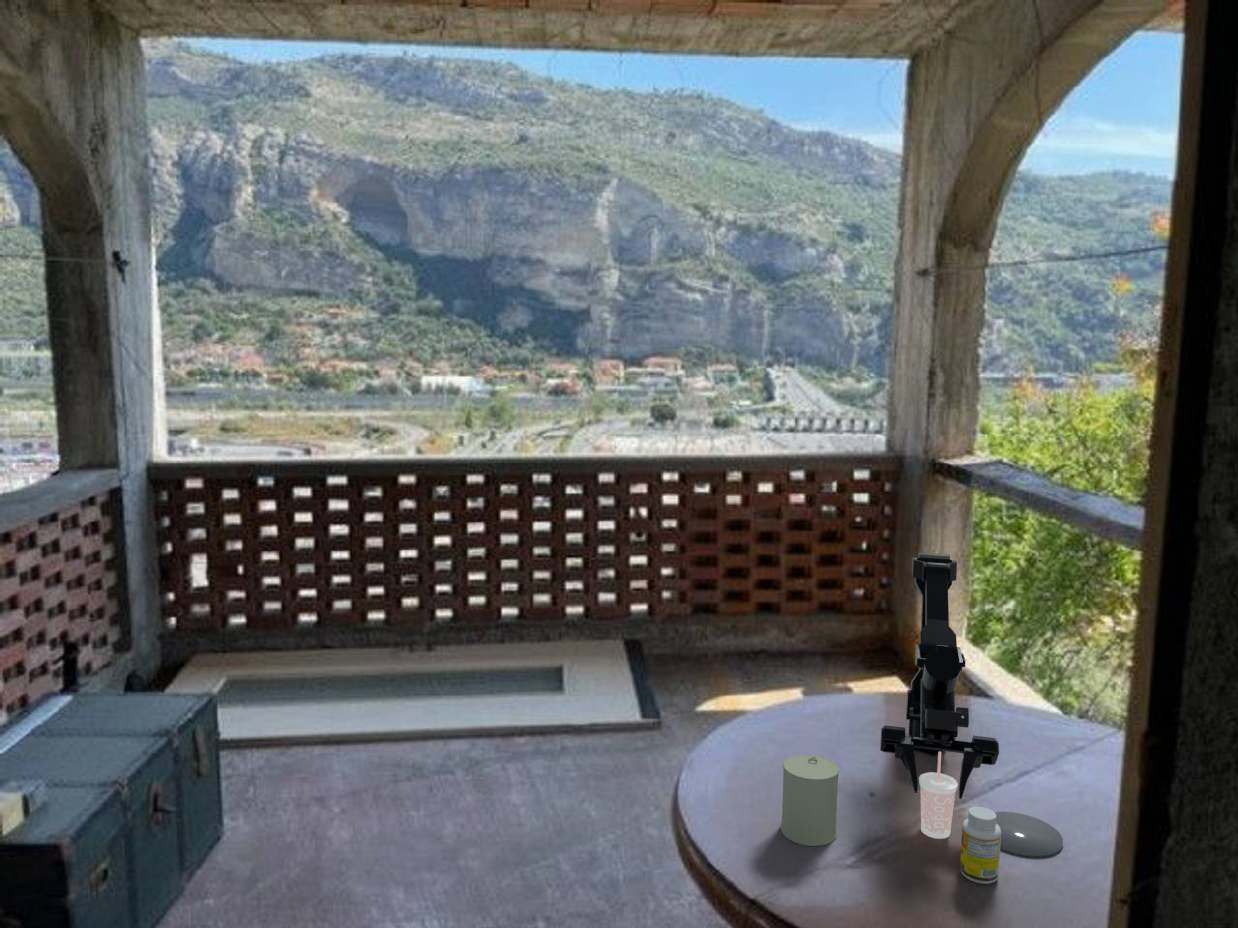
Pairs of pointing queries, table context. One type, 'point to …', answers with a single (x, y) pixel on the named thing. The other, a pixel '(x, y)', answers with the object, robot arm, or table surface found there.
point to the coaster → (1027, 835)
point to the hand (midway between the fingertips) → (938, 795)
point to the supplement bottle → (980, 846)
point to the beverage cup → (937, 802)
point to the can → (809, 799)
